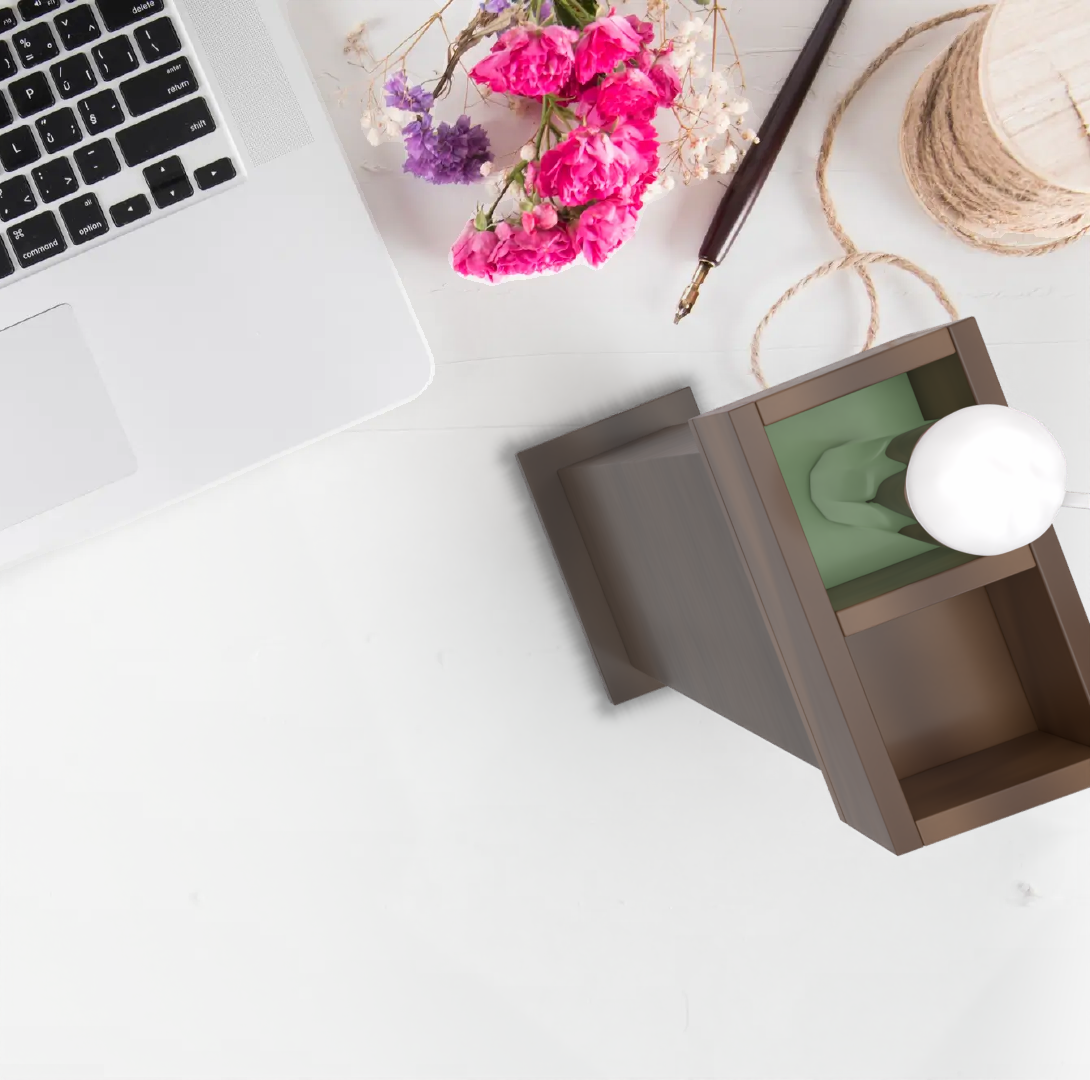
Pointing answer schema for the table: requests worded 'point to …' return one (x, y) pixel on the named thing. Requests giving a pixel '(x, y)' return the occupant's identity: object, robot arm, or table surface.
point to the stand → (659, 568)
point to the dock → (904, 607)
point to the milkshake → (950, 481)
